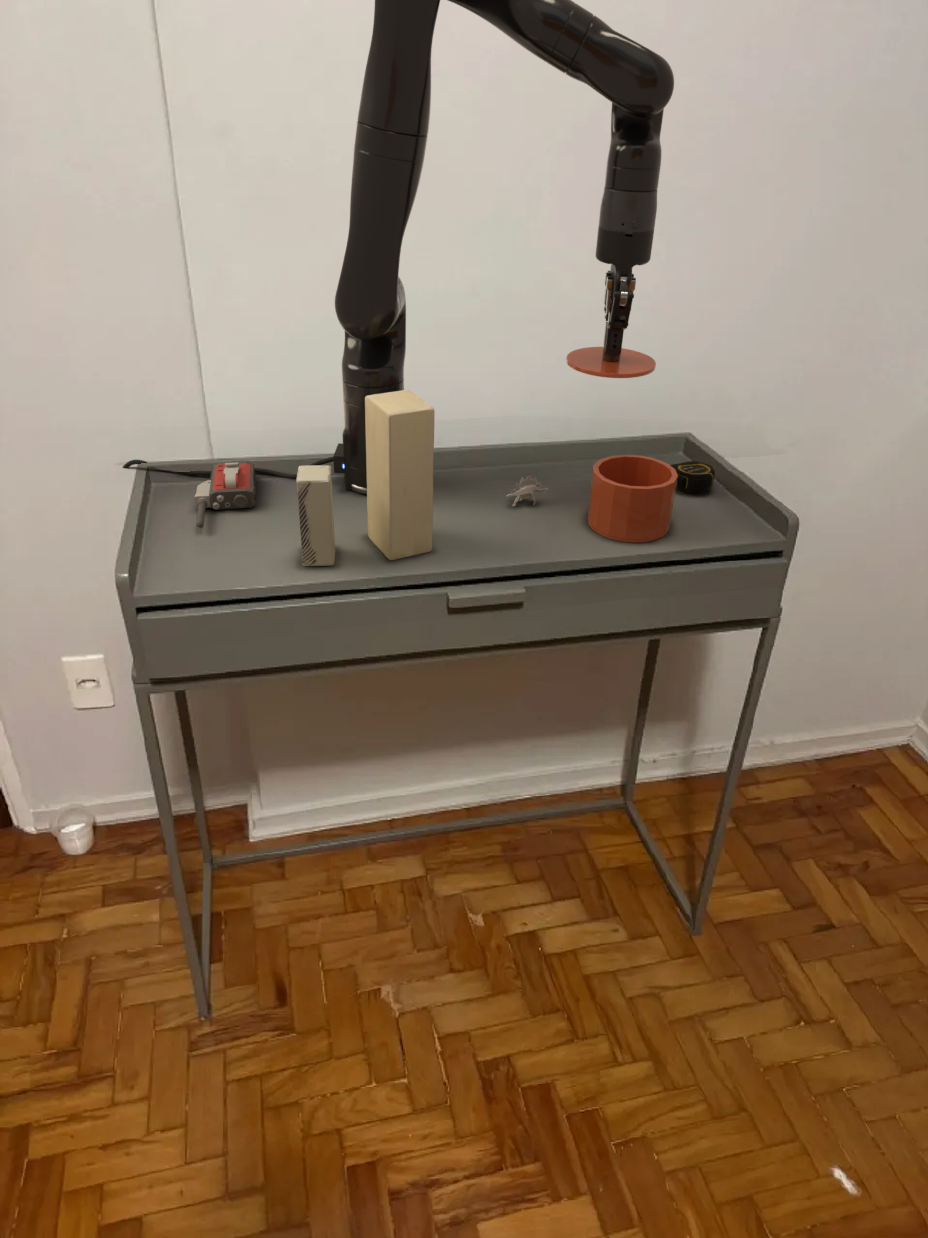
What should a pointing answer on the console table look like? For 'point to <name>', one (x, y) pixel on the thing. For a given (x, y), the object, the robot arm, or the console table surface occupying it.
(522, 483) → the stegosaurus
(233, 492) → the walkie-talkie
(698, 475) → the tape measure
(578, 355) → the lid
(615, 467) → the pot
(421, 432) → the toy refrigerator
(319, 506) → the box
